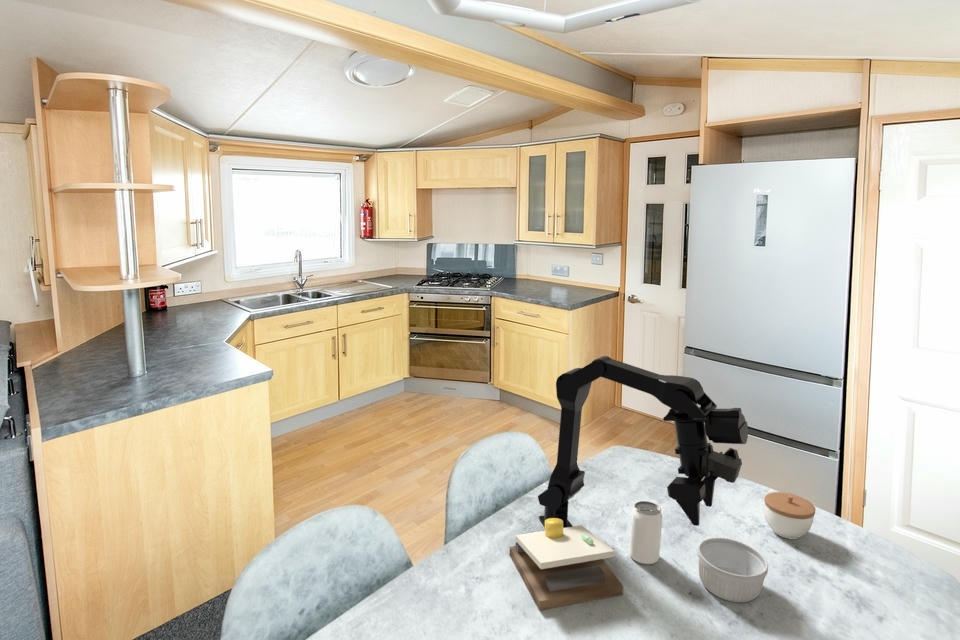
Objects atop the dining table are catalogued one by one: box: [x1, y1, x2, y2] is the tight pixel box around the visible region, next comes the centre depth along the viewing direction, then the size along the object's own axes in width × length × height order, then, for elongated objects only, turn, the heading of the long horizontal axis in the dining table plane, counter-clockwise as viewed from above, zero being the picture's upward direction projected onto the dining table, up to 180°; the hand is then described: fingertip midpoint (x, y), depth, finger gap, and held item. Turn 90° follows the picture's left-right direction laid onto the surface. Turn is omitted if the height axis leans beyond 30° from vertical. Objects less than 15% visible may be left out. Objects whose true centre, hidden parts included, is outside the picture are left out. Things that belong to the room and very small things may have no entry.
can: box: [628, 500, 663, 566], centre depth 124 cm, size 6×6×12 cm
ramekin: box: [697, 537, 769, 603], centre depth 115 cm, size 13×13×7 cm
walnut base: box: [508, 542, 624, 611], centre depth 118 cm, size 18×18×4 cm
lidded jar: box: [763, 491, 816, 540], centre depth 134 cm, size 11×11×9 cm
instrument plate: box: [515, 518, 616, 569], centre depth 118 cm, size 15×16×4 cm
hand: (702, 515), depth 114 cm, fingers open, 9 cm apart
